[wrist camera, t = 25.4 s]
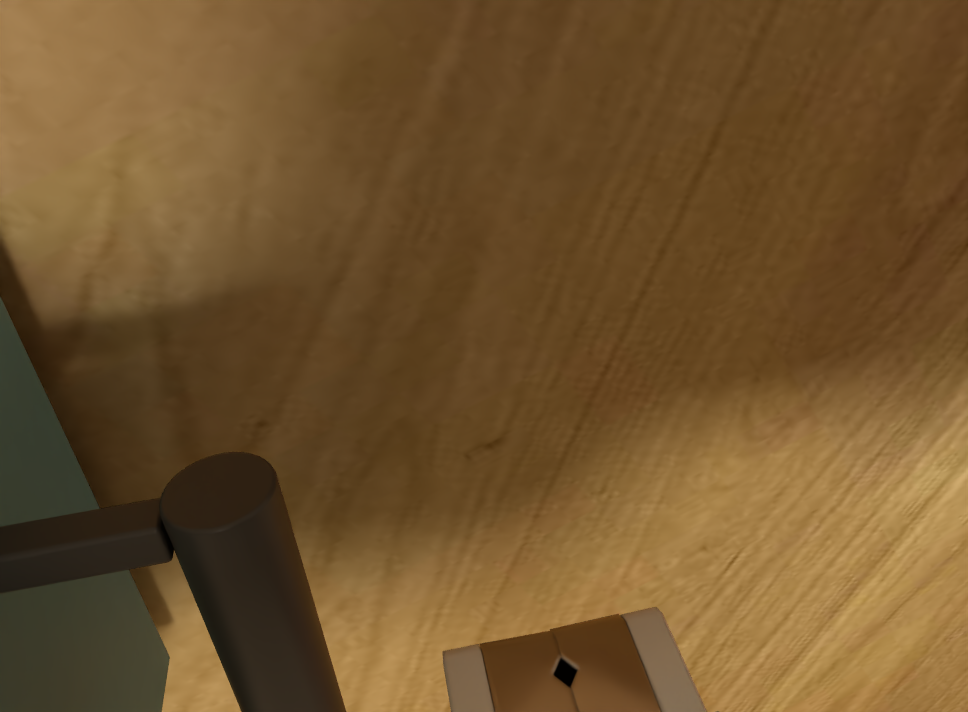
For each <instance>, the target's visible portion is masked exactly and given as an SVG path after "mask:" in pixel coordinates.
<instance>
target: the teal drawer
mask: <svg viewBox="0 0 968 712" xmlns="http://www.w3.org/2000/svg"><path fill="white" fill-rule="evenodd" d="M174 550H175V553H176V555H177V557H178V560H179V562H180V565H181V567H182V569H183V572H184V574H185V577H186V579H187V582H188V584H189V586H190V589H191V591H192V594H193V596H194V598H195V601H196V603H197V606H198V608H199V610H200V613H201V615H202V618H203V620H204V622H205V625H206V627H207V630H208V632H209V634H210V637H211V639H212V642H213V644H214V646H215V649H216V651H217V654H218V656H219V658H220V661H221V663H222V666H223V668H224V670H225V673H226V675H227V678H228V680H229V682H230V685H231V687H232V690H233V692H234V694H235V697H236V699H237V702H238V704H239V706H240V709H241V711H242V712H346V709H345V706H344V703H343V699H342V696H341V692H340V689H339V686H338V682H337V679H336V675H335V672H334V669H333V665H332V662H331V658H330V655H329V652H328V648H327V645H326V641H325V638H324V635H323V631H322V628H321V624H320V621H319V618H318V614H317V611H316V607H315V604H314V601H313V597H312V594H311V590H310V587H309V584H308V580H307V577H306V573H305V570H304V567H303V563H302V560H301V556H300V553H299V550H298V546H297V543H296V539H295V536H294V533H293V529H292V526H291V522H290V519H289V516H288V512H287V509H286V505H285V502H284V498H283V495H282V492H281V488H280V485H279V481H278V478H277V475H276V472H275V470H274V468H273V467H272V466H271V464H270V463H268V462H267V461H266V460H265V459H263V458H261V457H260V456H257V455H254V454H251V453H245V452H228V453H221V454H217V455H213V456H209V457H206V458H204V459H201V460H199V461H197V462H195V463H193V464H191V465H189V466H188V467H186V468H185V469H183V470H182V471H180V472H179V473H178V474H177V475H176V476H175V477H174V478H173V479H172V480H171V481H170V482H169V483H168V484H167V486H166V487H165V489H164V491H163V493H162V495H161V498H157V499H151V500H146V501H140V502H135V503H129V504H123V505H118V506H112V507H107V508H101V509H100V507H99V505H98V503H97V501H96V499H95V497H94V495H93V493H92V490H91V488H90V486H89V484H88V482H87V480H86V478H85V476H84V473H83V471H82V469H81V467H80V465H79V463H78V461H77V459H76V456H75V454H74V452H73V450H72V448H71V446H70V444H69V441H68V439H67V437H66V435H65V433H64V431H63V429H62V427H61V424H60V422H59V420H58V418H57V416H56V414H55V412H54V410H53V407H52V405H51V403H50V401H49V399H48V397H47V395H46V393H45V390H44V388H43V386H42V384H41V382H40V380H39V378H38V376H37V373H36V371H35V369H34V367H33V365H32V363H31V361H30V359H29V356H28V354H27V352H26V350H25V348H24V346H23V344H22V342H21V339H20V337H19V335H18V333H17V331H16V329H15V327H14V324H13V322H12V320H11V318H10V316H9V314H8V312H7V310H6V307H5V305H4V303H3V301H2V299H1V297H0V712H162V705H163V699H164V692H165V685H166V679H167V672H168V665H169V659H170V657H169V654H168V652H167V650H166V648H165V646H164V644H163V641H162V639H161V637H160V635H159V633H158V631H157V629H156V627H155V624H154V622H153V620H152V618H151V616H150V614H149V612H148V610H147V607H146V605H145V603H144V601H143V599H142V597H141V595H140V593H139V590H138V588H137V586H136V584H135V582H134V580H133V578H132V576H131V573H130V571H129V570H130V569H135V568H140V567H146V566H151V565H156V564H162V563H167V562H169V561H171V560H172V558H173V553H174Z"/></svg>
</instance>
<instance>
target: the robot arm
mask: <svg viewBox="0 0 968 712" xmlns="http://www.w3.org/2000/svg"><path fill="white" fill-rule="evenodd" d="M443 665H444V671H445V677H446V683H447V689H448V695H449V701H450V707H451V712H707V710H706V708H705V706H704V704H703V702H702V699H701V697H700V695H699V693H698V691H697V688H696V686H695V684H694V682H693V680H692V677H691V675H690V673H689V671H688V668H687V666H686V664H685V662H684V660H683V657H682V655H681V653H680V651H679V649H678V646H677V644H676V642H675V640H674V638H673V635H672V633H671V631H670V629H669V626H668V624H667V622H666V620H665V618H664V615H663V613H662V612H661V611H660V610H659V609H658V608H657V607H652V608H647V609H643V610H639V611H634V612H630V613H626V614H622V615H619V614H615V615H611V616H606V617H602V618H597V619H593V620H589V621H584V622H580V623H575V624H571V625H567V626H562V627H558V628H553V629H550V631H545V632H540V633H534V634H529V635H524V636H519V637H513V638H508V639H503V640H498V641H492V642H487V643H482V644H480V646H479V644H475V645H470V646H466V647H461V648H456V649H451V650H446V651H443ZM717 712H719V711H717Z"/></svg>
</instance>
